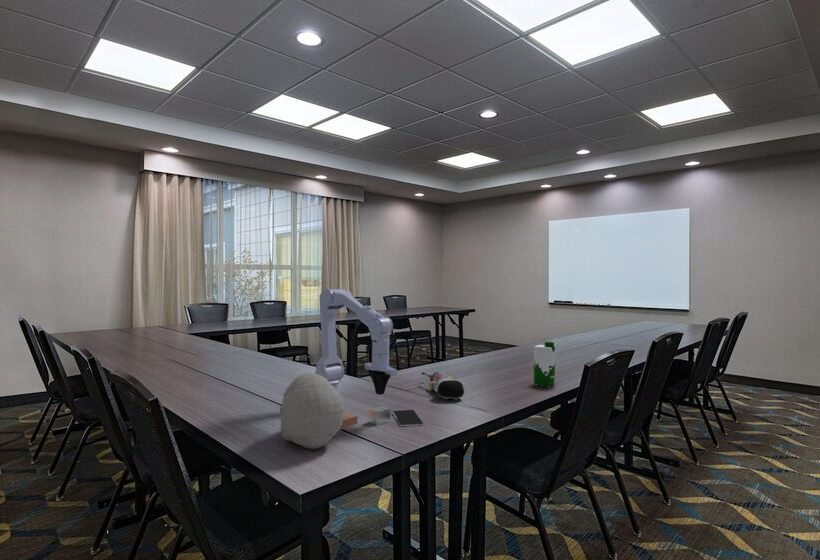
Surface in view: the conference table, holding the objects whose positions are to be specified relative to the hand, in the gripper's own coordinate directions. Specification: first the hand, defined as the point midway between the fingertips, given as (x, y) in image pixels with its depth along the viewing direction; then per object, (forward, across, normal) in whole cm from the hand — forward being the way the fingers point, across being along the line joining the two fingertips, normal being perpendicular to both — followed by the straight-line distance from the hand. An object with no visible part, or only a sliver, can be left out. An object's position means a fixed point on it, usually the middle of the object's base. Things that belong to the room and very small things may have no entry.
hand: (380, 393), depth 146 cm
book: (+10, -10, -11) cm, 18 cm away
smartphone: (+10, +4, +9) cm, 14 cm away
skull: (+10, -2, -26) cm, 28 cm away
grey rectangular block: (+10, 0, 0) cm, 10 cm away
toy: (+10, -12, +45) cm, 48 cm away
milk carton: (+10, +9, +91) cm, 92 cm away
